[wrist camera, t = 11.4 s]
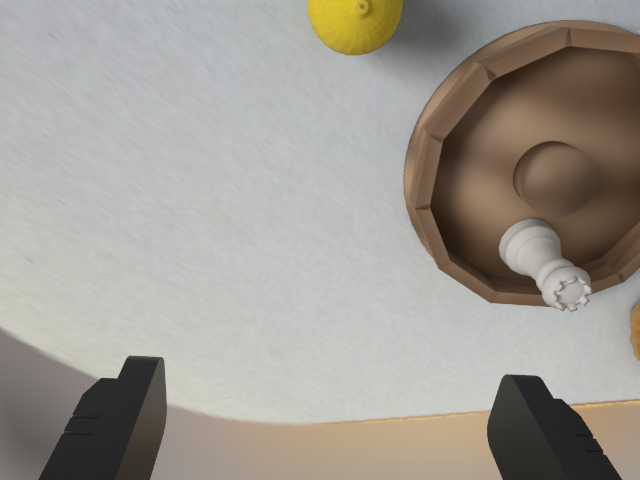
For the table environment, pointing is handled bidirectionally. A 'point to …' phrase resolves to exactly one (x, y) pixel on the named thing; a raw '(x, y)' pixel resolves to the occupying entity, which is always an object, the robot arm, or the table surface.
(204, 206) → the table surface
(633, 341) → the pastry
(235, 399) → the table surface
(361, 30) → the lemon
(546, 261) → the rook chess piece
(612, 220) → the ring tray
